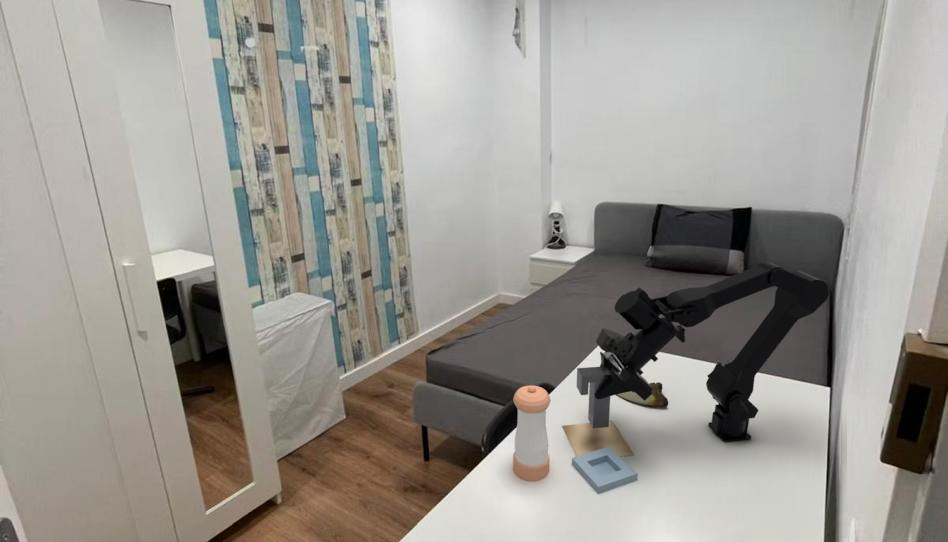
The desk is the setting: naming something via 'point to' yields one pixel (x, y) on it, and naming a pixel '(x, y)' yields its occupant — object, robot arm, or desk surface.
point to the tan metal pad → (596, 439)
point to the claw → (653, 400)
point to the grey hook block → (597, 408)
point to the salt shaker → (531, 434)
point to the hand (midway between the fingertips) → (593, 393)
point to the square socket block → (604, 469)
